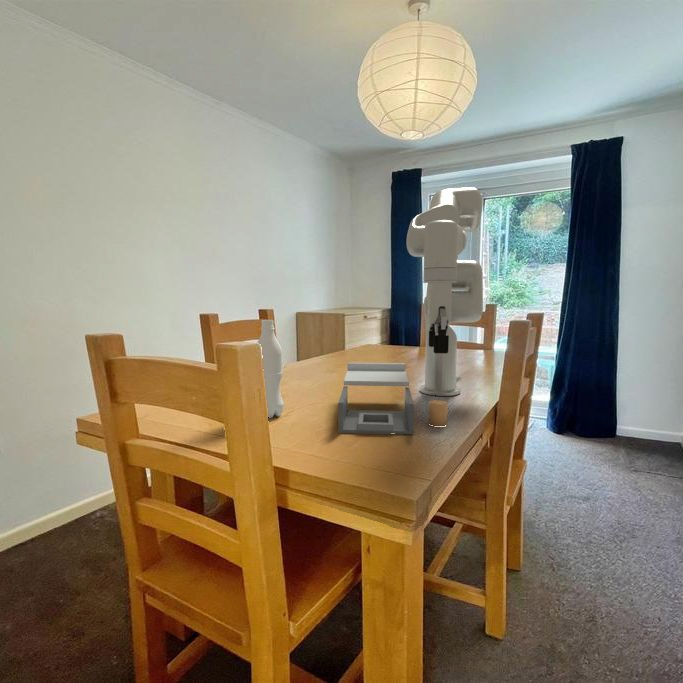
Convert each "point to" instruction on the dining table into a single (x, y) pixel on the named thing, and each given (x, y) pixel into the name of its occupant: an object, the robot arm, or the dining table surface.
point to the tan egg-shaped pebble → (437, 413)
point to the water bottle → (271, 368)
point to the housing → (375, 418)
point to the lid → (376, 374)
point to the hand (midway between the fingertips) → (437, 349)
